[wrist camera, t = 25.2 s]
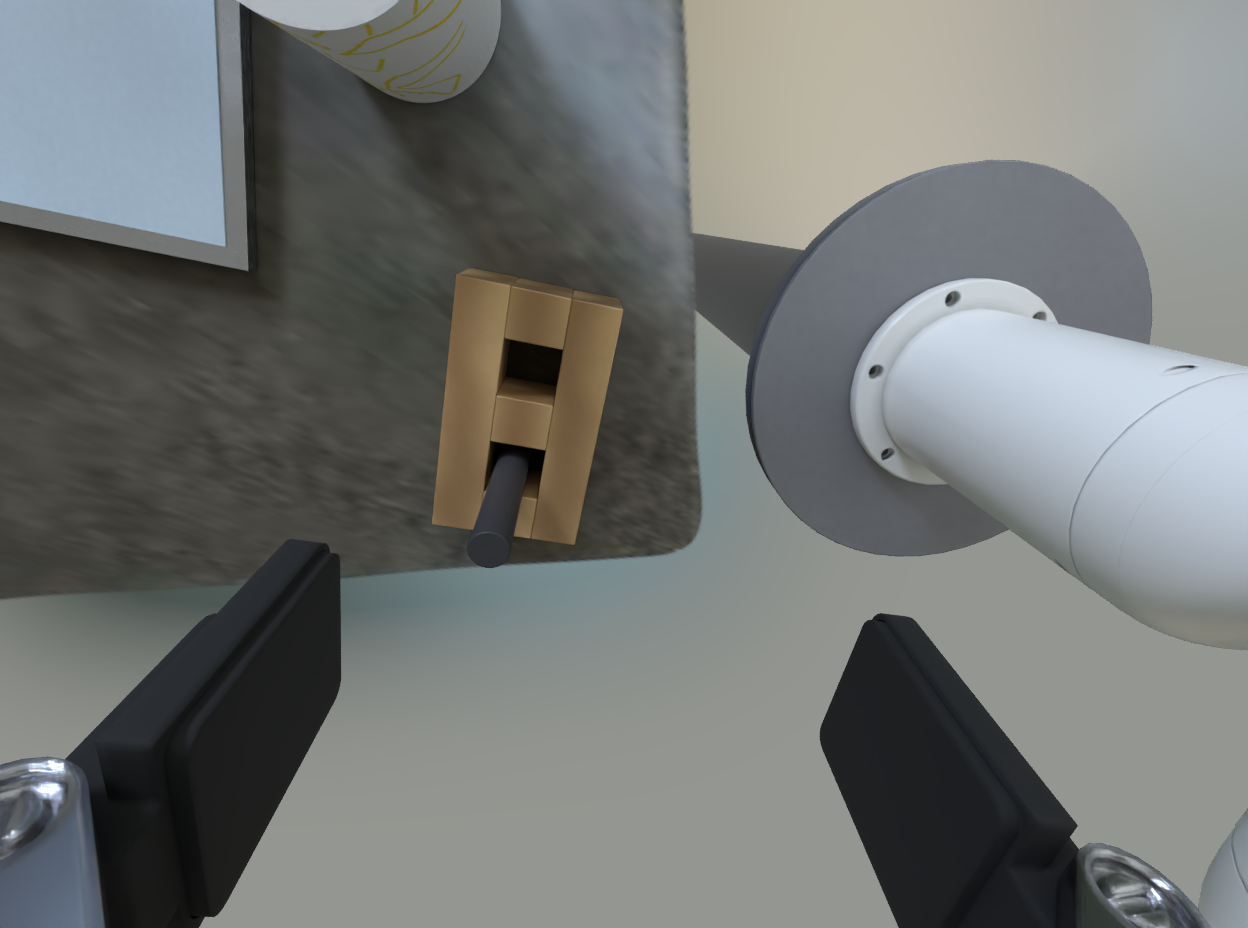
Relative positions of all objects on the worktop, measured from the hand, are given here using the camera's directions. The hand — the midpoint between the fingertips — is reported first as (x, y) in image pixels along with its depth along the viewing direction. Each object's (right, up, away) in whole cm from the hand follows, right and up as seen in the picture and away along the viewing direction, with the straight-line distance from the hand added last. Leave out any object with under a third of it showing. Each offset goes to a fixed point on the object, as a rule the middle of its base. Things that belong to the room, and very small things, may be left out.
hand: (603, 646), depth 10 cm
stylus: (-6, +4, +25) cm, 26 cm away
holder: (-5, +7, +24) cm, 26 cm away
